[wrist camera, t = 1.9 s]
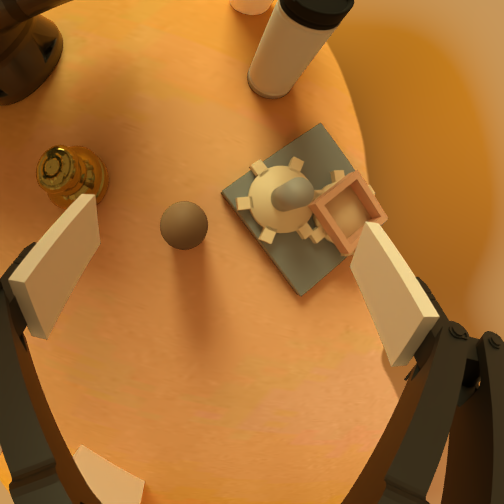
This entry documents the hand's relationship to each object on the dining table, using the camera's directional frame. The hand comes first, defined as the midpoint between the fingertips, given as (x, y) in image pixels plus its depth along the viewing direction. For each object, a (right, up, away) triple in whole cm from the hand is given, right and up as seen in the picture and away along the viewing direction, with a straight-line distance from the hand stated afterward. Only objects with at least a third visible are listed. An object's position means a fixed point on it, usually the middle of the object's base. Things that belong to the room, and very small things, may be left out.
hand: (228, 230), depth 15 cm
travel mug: (+4, +22, +24) cm, 33 cm away
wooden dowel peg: (-7, +2, +23) cm, 24 cm away
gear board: (+8, +5, +26) cm, 27 cm away
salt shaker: (-20, +8, +20) cm, 30 cm away
